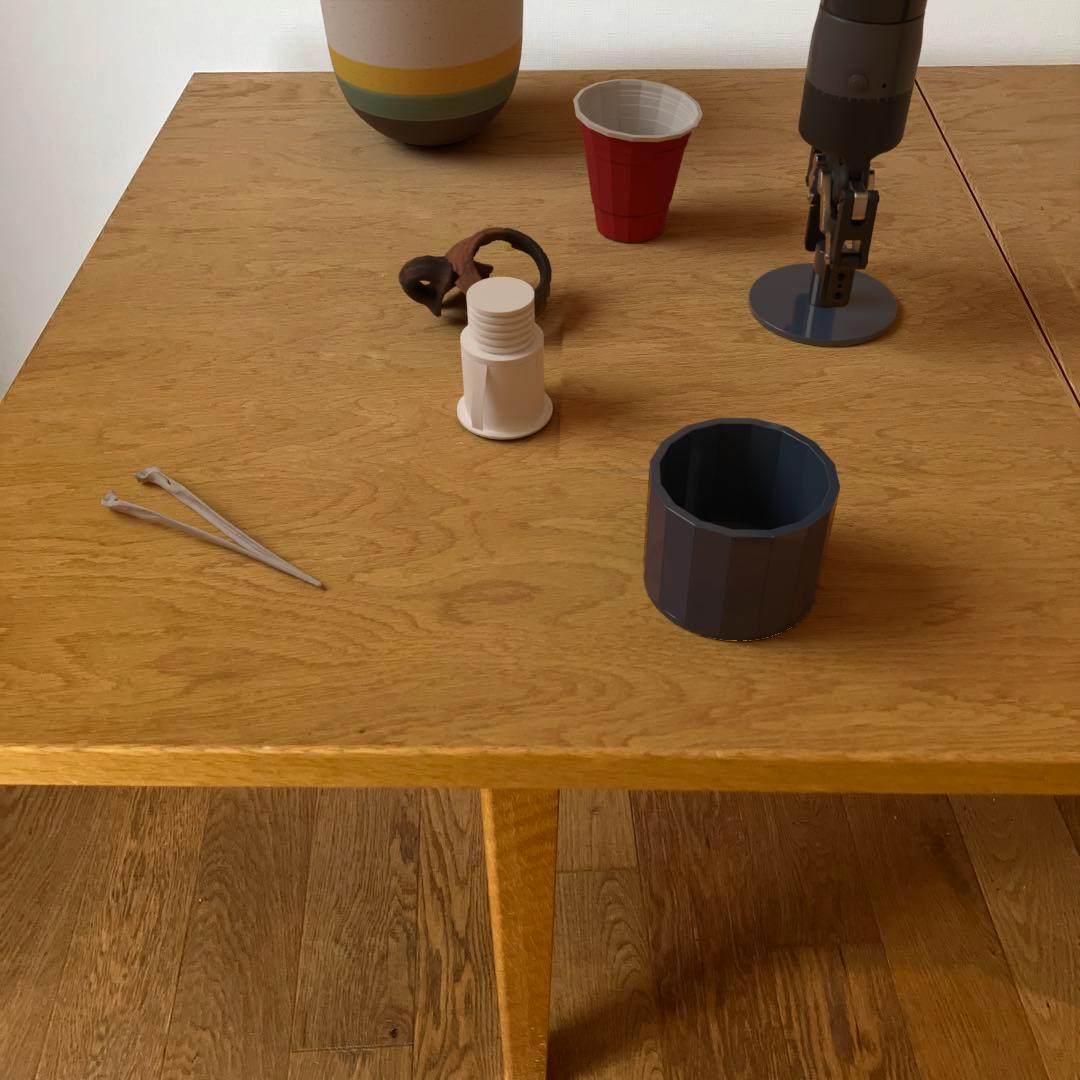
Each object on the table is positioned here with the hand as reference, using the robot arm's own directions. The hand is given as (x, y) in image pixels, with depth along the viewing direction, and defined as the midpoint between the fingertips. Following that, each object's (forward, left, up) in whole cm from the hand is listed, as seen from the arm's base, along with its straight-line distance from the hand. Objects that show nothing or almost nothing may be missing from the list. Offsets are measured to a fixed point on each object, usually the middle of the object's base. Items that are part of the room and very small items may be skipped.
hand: (824, 276), depth 95 cm
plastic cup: (+15, -13, -4) cm, 20 cm away
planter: (+35, -34, -4) cm, 49 cm away
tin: (+10, +31, -3) cm, 33 cm away
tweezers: (+43, +28, -4) cm, 51 cm away
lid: (0, 0, -3) cm, 3 cm away
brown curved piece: (+28, +1, -4) cm, 28 cm away
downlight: (+25, +14, -4) cm, 29 cm away
